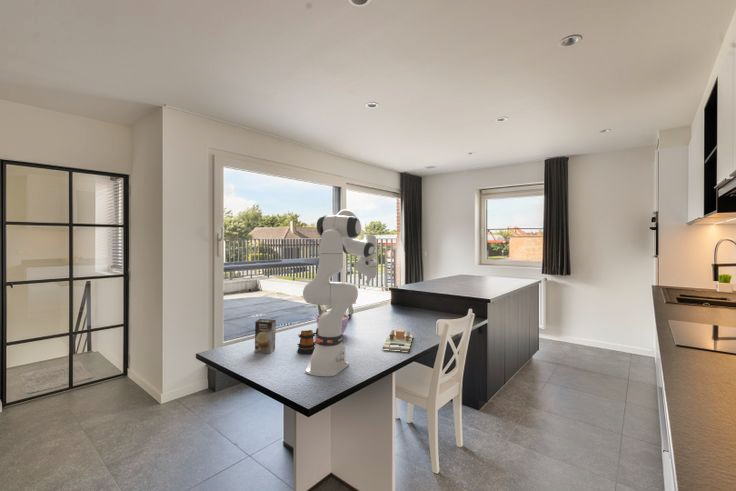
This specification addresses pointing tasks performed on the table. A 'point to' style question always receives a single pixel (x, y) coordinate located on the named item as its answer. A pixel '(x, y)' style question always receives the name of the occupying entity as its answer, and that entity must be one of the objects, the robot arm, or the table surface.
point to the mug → (307, 342)
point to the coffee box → (265, 335)
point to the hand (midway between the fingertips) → (363, 281)
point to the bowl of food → (344, 321)
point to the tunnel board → (398, 341)
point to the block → (400, 333)
